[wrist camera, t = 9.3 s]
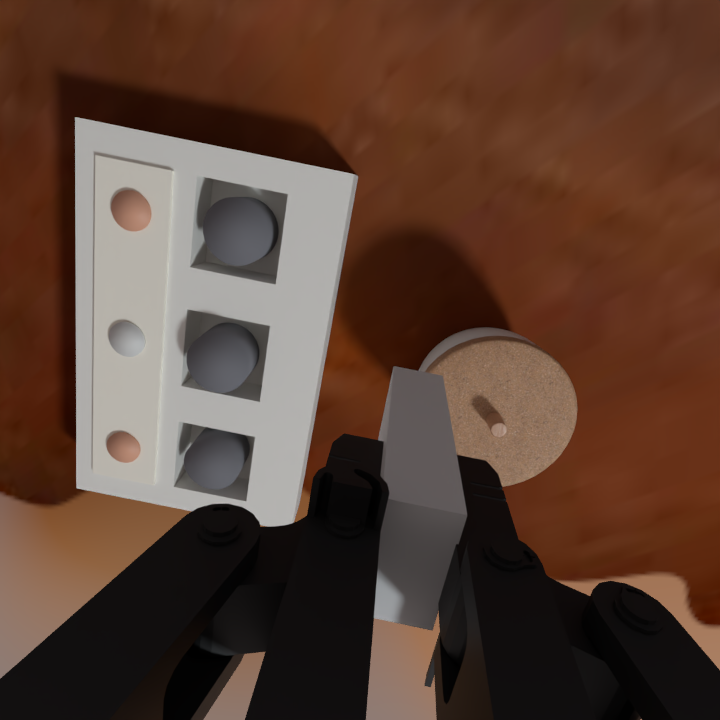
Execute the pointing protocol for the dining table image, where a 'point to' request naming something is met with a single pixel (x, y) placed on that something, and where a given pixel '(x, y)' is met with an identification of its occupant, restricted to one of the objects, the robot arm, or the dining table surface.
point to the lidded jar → (505, 400)
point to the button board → (197, 315)
